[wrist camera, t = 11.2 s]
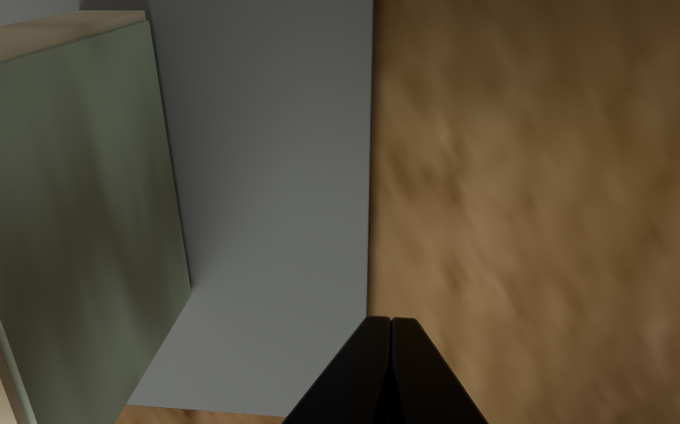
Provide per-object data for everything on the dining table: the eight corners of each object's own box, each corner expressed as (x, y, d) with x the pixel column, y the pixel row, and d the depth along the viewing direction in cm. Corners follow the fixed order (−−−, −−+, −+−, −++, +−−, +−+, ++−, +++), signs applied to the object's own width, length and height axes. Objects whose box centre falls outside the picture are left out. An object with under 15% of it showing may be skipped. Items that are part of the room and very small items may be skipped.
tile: (194, 296, 16) (62, 522, 10) (137, 293, 16) (-29, 512, 10) (151, 10, 12) (-101, 75, 6) (78, 10, 13) (-239, 73, 6)
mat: (377, -167, 11) (376, -173, 10) (364, 408, 18) (363, 422, 18) (-388, -148, 13) (-422, -152, 12) (-125, 371, 20) (-140, 383, 19)
